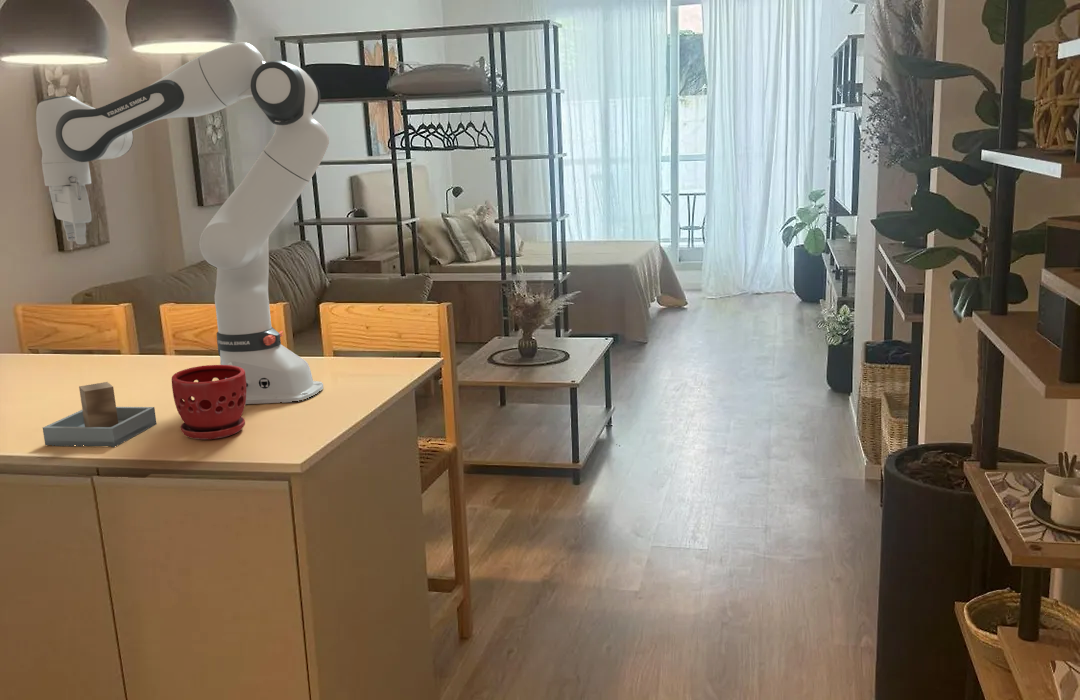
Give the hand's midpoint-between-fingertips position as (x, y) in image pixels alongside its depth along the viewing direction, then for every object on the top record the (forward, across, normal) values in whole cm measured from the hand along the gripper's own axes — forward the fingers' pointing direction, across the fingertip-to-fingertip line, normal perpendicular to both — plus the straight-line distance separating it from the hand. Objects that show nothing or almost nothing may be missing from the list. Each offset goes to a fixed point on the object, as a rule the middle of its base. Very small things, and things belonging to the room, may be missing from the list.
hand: (76, 242), depth 200 cm
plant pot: (+34, -45, -11) cm, 58 cm away
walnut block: (+33, -31, +6) cm, 46 cm away
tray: (+34, -31, +6) cm, 46 cm away
